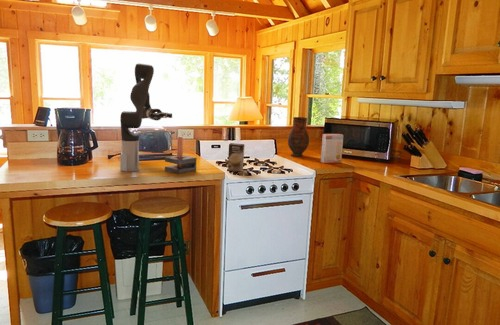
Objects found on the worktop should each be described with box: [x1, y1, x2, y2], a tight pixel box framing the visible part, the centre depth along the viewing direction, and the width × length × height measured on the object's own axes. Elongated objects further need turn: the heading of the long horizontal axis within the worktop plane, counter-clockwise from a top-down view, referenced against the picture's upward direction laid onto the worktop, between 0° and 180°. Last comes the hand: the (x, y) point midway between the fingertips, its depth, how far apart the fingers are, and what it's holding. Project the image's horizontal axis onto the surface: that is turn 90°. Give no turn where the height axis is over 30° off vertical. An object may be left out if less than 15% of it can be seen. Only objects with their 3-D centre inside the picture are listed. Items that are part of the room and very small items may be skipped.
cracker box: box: [320, 133, 344, 164], centre depth 269 cm, size 14×6×21 cm, turn 108°
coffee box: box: [227, 142, 245, 173], centre depth 228 cm, size 9×6×16 cm
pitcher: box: [287, 116, 310, 158], centre depth 291 cm, size 17×21×30 cm
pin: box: [176, 136, 184, 168], centre depth 217 cm, size 3×3×20 cm
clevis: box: [164, 154, 197, 175], centre depth 218 cm, size 14×12×8 cm
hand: (165, 116), depth 230 cm, fingers open, 8 cm apart
